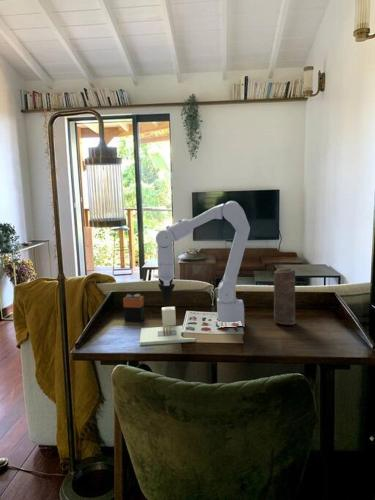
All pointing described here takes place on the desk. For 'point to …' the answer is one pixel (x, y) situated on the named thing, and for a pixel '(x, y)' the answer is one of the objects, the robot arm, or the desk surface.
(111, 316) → the desk surface
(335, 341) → the desk surface
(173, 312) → the housing
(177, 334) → the header board
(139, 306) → the battery
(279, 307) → the candle
